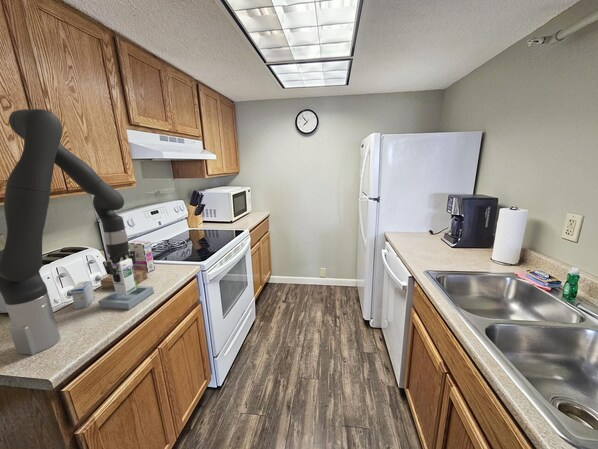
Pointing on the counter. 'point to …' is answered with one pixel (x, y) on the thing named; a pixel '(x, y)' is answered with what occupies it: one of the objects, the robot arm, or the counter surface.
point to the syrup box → (125, 277)
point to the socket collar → (108, 283)
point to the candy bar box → (142, 255)
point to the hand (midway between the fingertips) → (124, 278)
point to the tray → (126, 299)
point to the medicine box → (82, 294)
